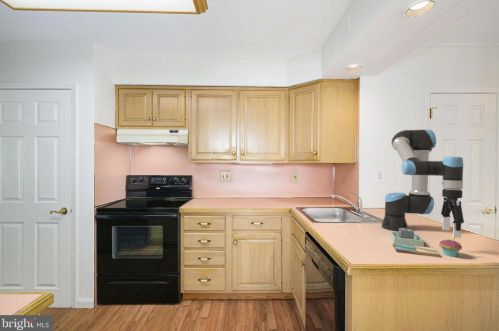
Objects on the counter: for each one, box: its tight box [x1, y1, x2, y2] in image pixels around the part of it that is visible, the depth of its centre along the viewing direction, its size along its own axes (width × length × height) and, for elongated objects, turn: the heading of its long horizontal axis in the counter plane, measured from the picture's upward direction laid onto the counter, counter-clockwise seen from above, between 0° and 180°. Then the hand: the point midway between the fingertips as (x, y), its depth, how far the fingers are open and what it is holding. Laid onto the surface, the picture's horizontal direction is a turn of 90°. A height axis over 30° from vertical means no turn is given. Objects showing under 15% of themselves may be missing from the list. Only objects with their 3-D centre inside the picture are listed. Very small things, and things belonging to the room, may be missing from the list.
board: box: [392, 242, 441, 258], centre depth 128 cm, size 11×18×1 cm, turn 69°
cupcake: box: [439, 236, 463, 258], centre depth 123 cm, size 9×8×12 cm
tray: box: [389, 230, 425, 247], centre depth 143 cm, size 14×14×3 cm
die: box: [398, 227, 415, 239], centre depth 143 cm, size 6×6×6 cm
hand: (451, 233), depth 122 cm, fingers open, 13 cm apart
